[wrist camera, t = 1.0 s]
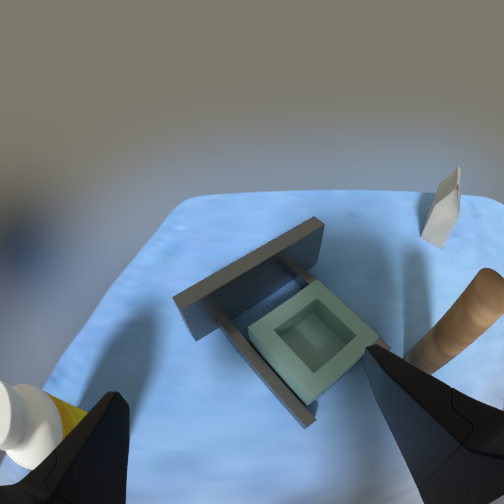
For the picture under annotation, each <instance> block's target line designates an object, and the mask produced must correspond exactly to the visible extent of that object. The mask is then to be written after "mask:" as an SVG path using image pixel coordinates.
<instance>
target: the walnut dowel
mask: <svg viewBox="0 0 504 504" xmlns="http://www.w3.org/2000/svg"><path fill="white" fill-rule="evenodd" d="M503 313H504V278H503V277H502V276H501V275H500V274H499V273H497V272H496V271H494V270H492V269H490V268H483V269H481V270H480V271H479V272H478V273H477V275H476V276H475V277H474V279H473V280H472V281H471V283H470V284H469V285H468V287H467V288H466V289H465V290H464V292H463V293H462V294H461V295H460V297H459V298H458V299H457V300H456V302H455V303H454V304H453V305H452V306H451V308H450V309H449V310H448V311H447V312H446V313H445V315H444V316H443V317H442V318H441V319H440V320H439V321H438V322H437V323H436V325H435V326H434V327H433V328H432V329H431V330H430V331H429V332H428V333H427V334H426V335H425V336H424V337H423V338H422V339H421V340H420V341H419V342H418V343H417V344H416V345H415V346H414V347H413V348H412V349H411V350H410V351H409V352H408V353H407V354H406V356H405V357H404V360H405V361H407V362H409V363H411V364H412V365H414V366H416V367H417V368H419V369H421V370H423V371H424V372H426V373H428V374H430V375H432V374H433V373H434V372H436V371H437V370H439V369H440V368H441V367H443V366H444V365H445V364H447V363H448V362H449V361H451V360H452V359H453V358H454V357H456V356H457V355H458V354H459V353H461V352H462V351H463V350H464V349H465V348H467V347H468V346H469V345H470V344H471V343H473V342H474V341H475V340H476V339H477V338H478V337H479V336H480V335H482V334H483V333H484V332H485V331H486V330H487V329H488V328H489V327H490V326H491V325H492V324H493V323H494V322H495V321H496V320H497V319H498V318H499V317H500V316H501V315H502V314H503Z"/></svg>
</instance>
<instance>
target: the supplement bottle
mask: <svg viewBox="0 0 504 504" xmlns="http://www.w3.org/2000/svg"><path fill="white" fill-rule="evenodd" d="M87 414H88V412H86V411H84V410H82V409H79V408H77V407H75V406H73V405H70V404H68V403H66V402H64V401H62V400H60V399H58V398H56V397H54V396H52V395H50V394H48V393H47V392H45V391H43V390H41V389H39V388H37V387H35V386H33V385H30V384H17V385H15V386H12V387H11V386H9V385H8V384H6V383H4V382H3V381H1V380H0V449H1V450H5V451H6V453H7V454H8V455H9V456H10V457H11V458H12V459H13V460H14V461H15V462H16V463H17V464H19V465H21V466H22V467H24V468H27V469H30V470H34V469H35V468H36V467H37V466H38V465H39V464H40V463H41V462H42V461H43V460H44V459H45V458H46V457H47V456H48V455H49V454H50V453H51V452H52V451H53V450H54V449H55V448H56V447H57V446H58V445H59V444H60V442H61V441H62V440H63V439H64V438H65V437H66V436H67V435H68V434H69V433H70V432H71V431H72V430H73V429H74V427H75V426H76V425H77V424H78V423H79V422H80V421H81V420H82V419H83V418H84V417H85V416H86V415H87Z"/></svg>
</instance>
